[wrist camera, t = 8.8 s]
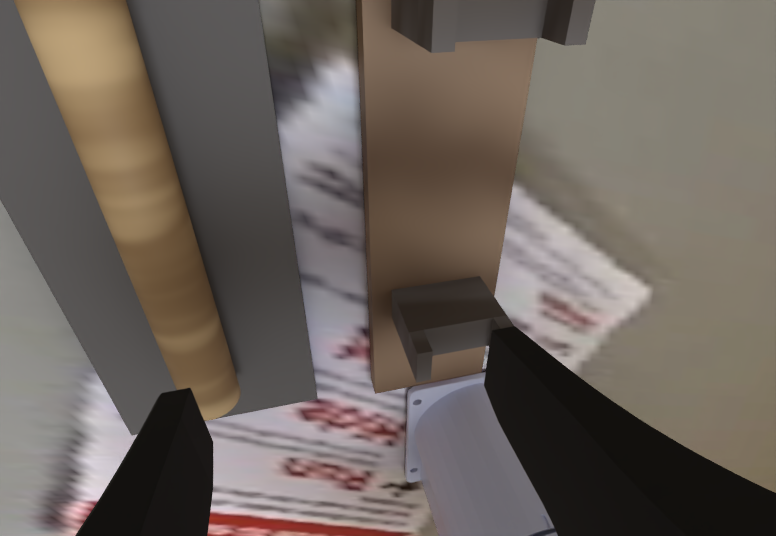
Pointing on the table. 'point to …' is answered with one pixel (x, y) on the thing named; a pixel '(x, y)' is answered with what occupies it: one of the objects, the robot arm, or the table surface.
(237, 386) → the rail
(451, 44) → the hook stand
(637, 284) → the table surface
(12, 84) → the mat
